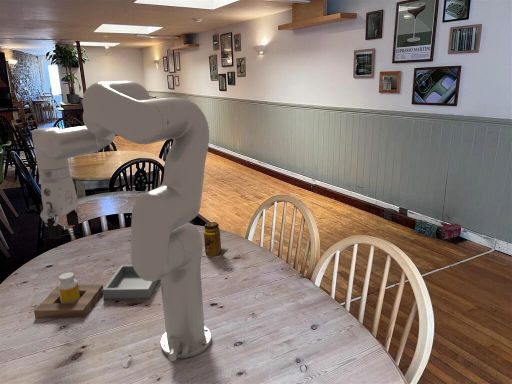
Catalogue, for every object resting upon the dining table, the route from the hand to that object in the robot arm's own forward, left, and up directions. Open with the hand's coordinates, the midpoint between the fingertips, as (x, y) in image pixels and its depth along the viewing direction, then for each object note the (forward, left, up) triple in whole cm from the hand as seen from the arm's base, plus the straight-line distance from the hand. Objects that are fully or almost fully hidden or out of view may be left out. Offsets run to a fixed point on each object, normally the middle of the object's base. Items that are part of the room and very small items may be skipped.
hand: (64, 231), depth 111 cm
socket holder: (-1, +1, -23) cm, 23 cm away
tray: (+9, -15, -23) cm, 29 cm away
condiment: (+33, -38, -23) cm, 55 cm away
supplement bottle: (-1, +1, -23) cm, 23 cm away
